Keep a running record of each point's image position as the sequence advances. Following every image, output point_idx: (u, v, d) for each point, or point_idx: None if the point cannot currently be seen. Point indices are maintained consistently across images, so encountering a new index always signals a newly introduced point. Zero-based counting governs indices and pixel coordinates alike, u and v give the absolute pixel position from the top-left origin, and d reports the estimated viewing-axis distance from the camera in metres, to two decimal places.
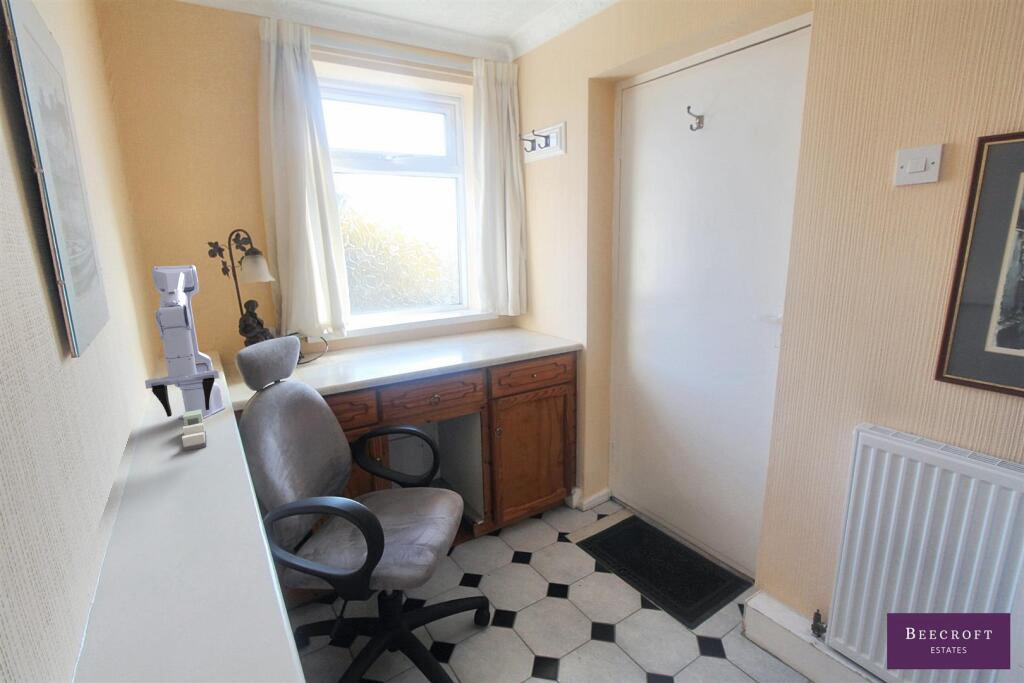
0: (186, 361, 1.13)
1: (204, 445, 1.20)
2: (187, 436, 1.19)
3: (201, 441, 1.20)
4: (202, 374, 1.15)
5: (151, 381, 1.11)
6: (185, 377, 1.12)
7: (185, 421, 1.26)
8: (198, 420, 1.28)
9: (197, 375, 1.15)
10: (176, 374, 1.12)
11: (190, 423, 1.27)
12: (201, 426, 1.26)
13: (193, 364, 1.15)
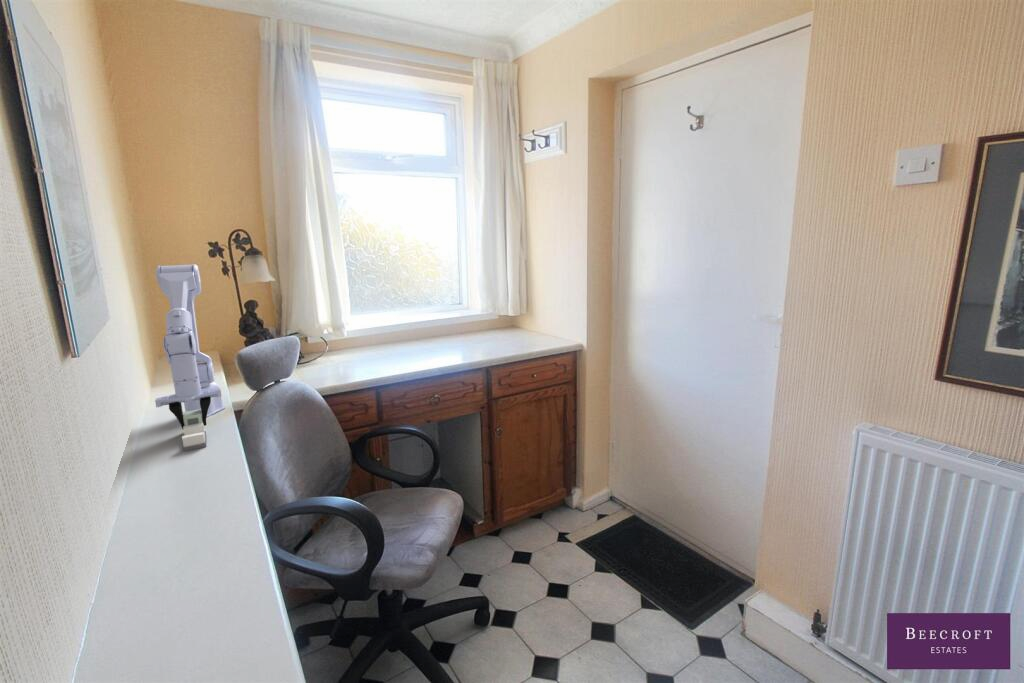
0: (192, 383, 1.25)
1: (204, 445, 1.20)
2: (187, 436, 1.19)
3: (201, 441, 1.20)
4: (206, 394, 1.28)
5: (161, 401, 1.24)
6: (192, 398, 1.25)
7: (185, 421, 1.26)
8: (198, 419, 1.28)
9: (202, 395, 1.27)
10: (183, 395, 1.25)
11: (190, 423, 1.27)
12: (201, 426, 1.26)
13: (198, 385, 1.27)
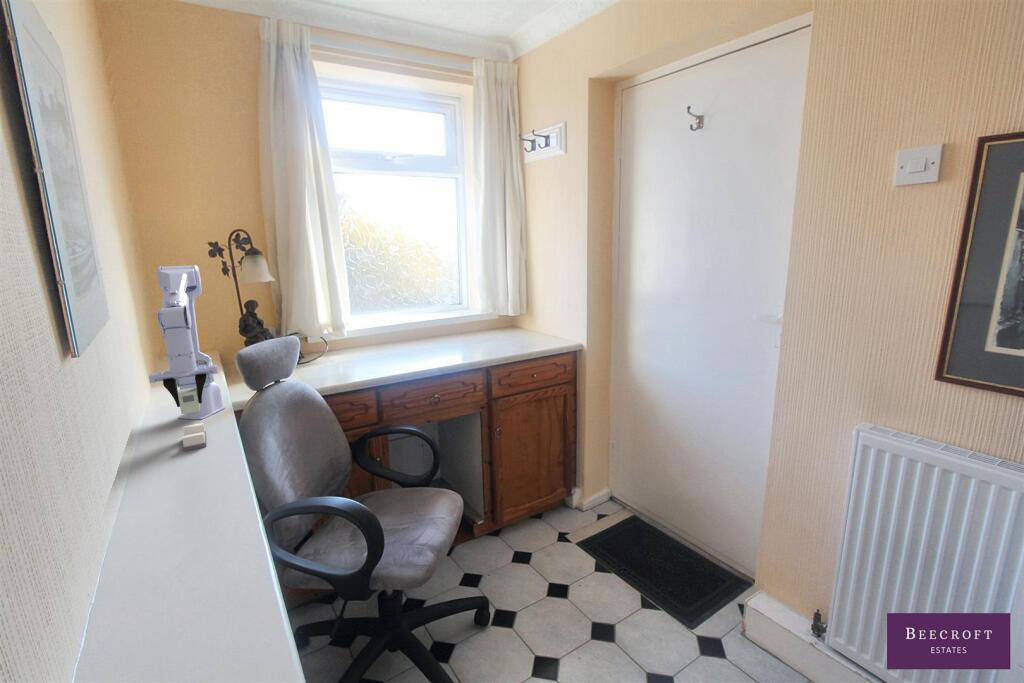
0: (187, 359, 1.22)
1: (204, 445, 1.20)
2: (187, 436, 1.19)
3: (201, 441, 1.20)
4: (202, 370, 1.24)
5: (154, 376, 1.20)
6: (186, 374, 1.21)
7: (180, 398, 1.23)
8: (193, 397, 1.24)
9: (197, 371, 1.24)
10: (178, 370, 1.21)
11: (185, 400, 1.23)
12: (201, 426, 1.26)
13: (193, 361, 1.23)
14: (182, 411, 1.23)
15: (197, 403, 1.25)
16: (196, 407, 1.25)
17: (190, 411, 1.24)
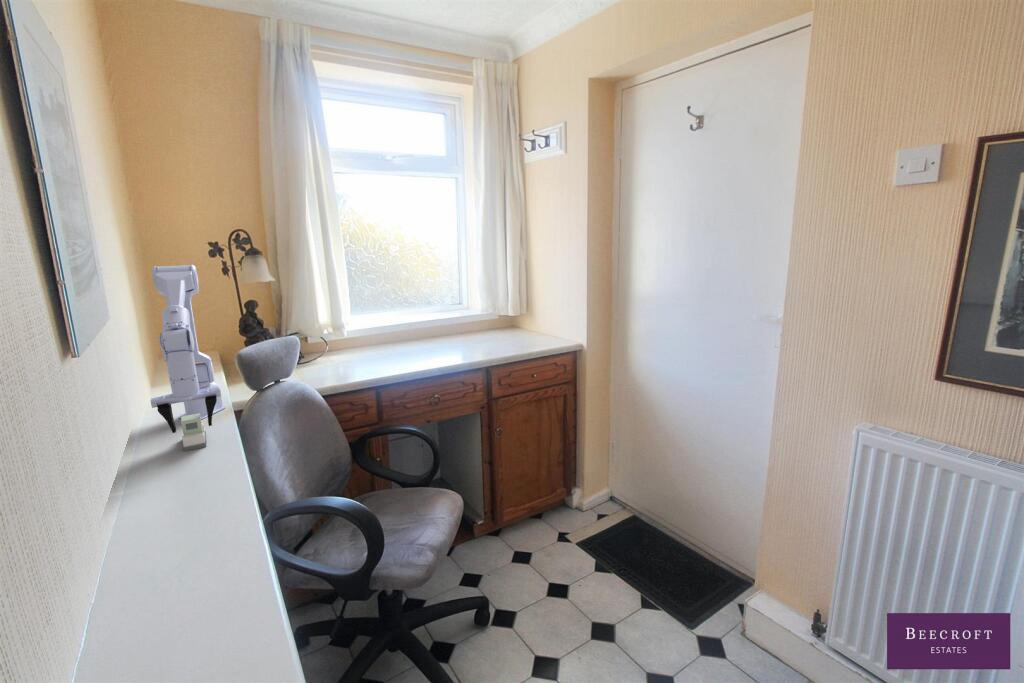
0: (190, 382, 1.18)
1: (204, 445, 1.20)
2: (187, 436, 1.19)
3: (201, 441, 1.20)
4: (205, 393, 1.21)
5: (156, 401, 1.16)
6: (189, 398, 1.18)
7: (183, 426, 1.20)
8: (197, 424, 1.21)
9: (200, 395, 1.20)
10: (180, 394, 1.17)
11: (189, 428, 1.20)
12: None
13: (196, 384, 1.20)
14: None
15: (201, 430, 1.22)
16: None
17: None
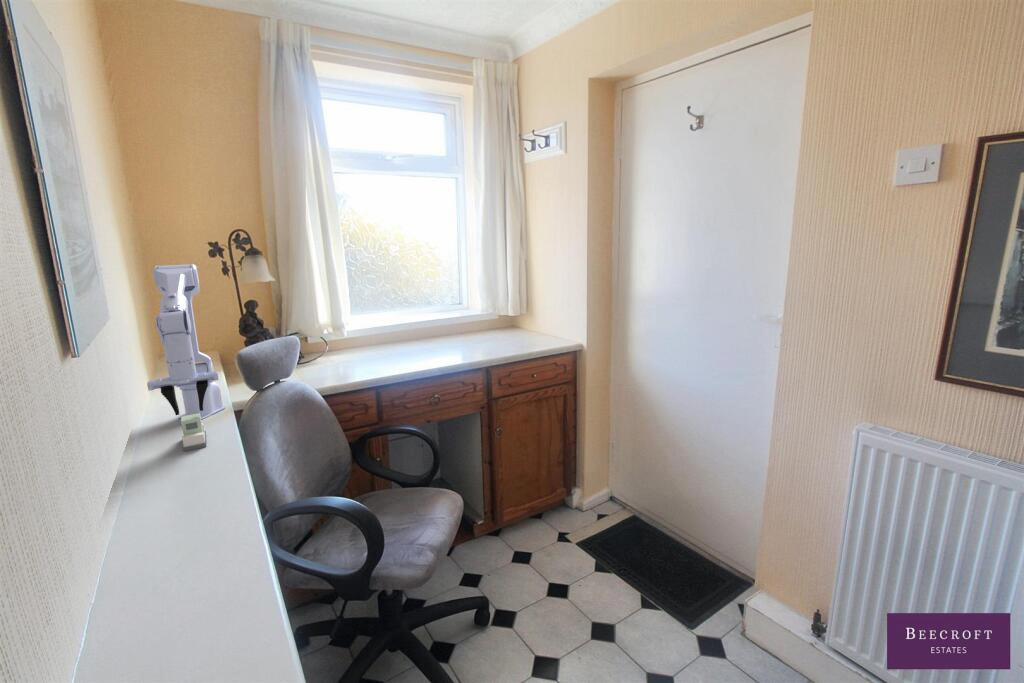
0: (187, 365, 1.17)
1: (204, 445, 1.20)
2: (187, 436, 1.19)
3: (201, 441, 1.20)
4: (202, 377, 1.20)
5: (153, 383, 1.15)
6: (186, 381, 1.17)
7: (183, 426, 1.20)
8: (197, 424, 1.21)
9: (197, 378, 1.19)
10: (177, 377, 1.16)
11: (189, 428, 1.20)
12: None
13: (193, 367, 1.19)
14: None
15: (201, 430, 1.22)
16: None
17: None
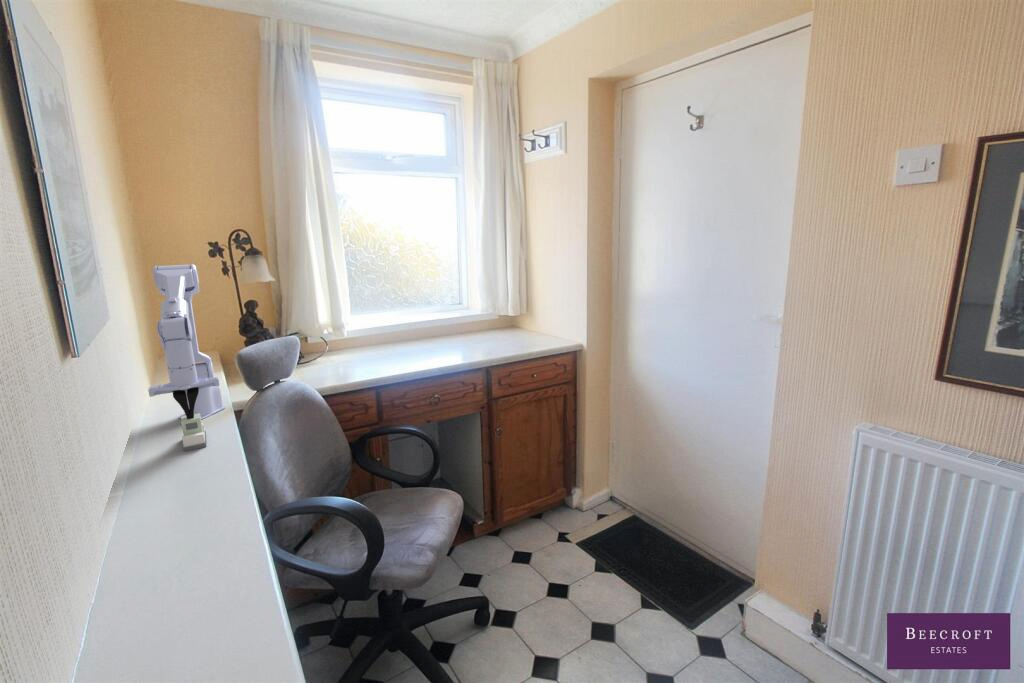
0: (188, 371, 1.18)
1: (204, 445, 1.20)
2: (187, 436, 1.19)
3: (201, 441, 1.20)
4: (203, 383, 1.20)
5: (154, 390, 1.16)
6: (187, 387, 1.17)
7: (183, 426, 1.20)
8: (197, 424, 1.21)
9: (198, 384, 1.20)
10: (178, 383, 1.17)
11: (189, 428, 1.20)
12: None
13: (194, 373, 1.19)
14: None
15: (201, 430, 1.22)
16: None
17: None
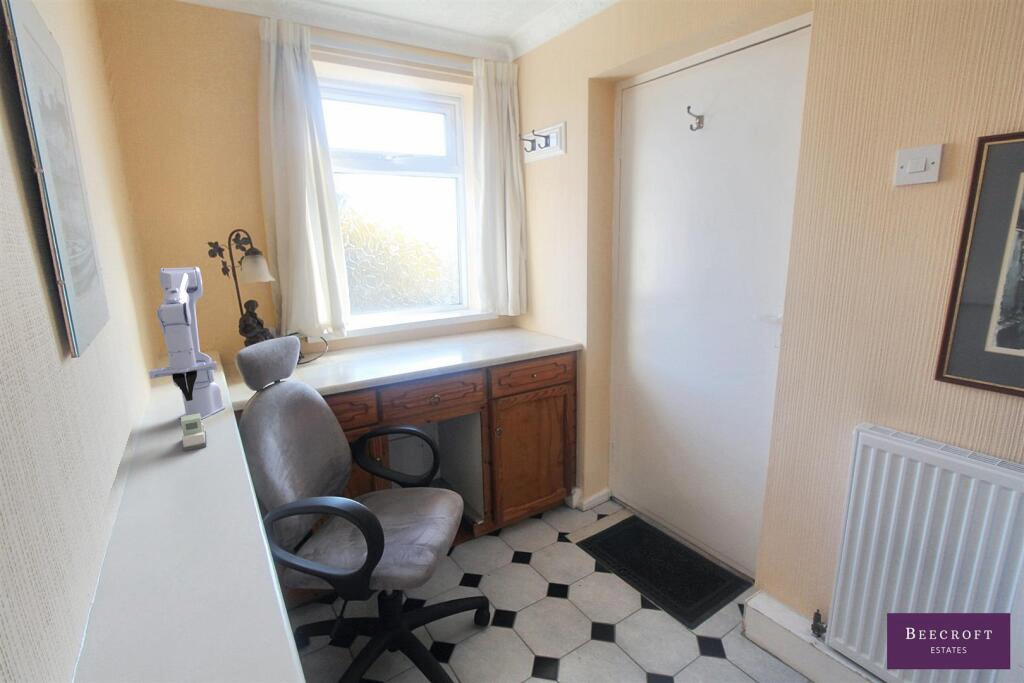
0: (187, 355, 1.23)
1: (204, 445, 1.20)
2: (187, 436, 1.19)
3: (201, 441, 1.20)
4: (201, 366, 1.26)
5: (155, 372, 1.21)
6: (186, 370, 1.22)
7: (183, 426, 1.20)
8: (197, 424, 1.21)
9: (197, 367, 1.25)
10: (177, 366, 1.22)
11: (189, 428, 1.20)
12: None
13: (193, 357, 1.25)
14: None
15: (201, 430, 1.22)
16: None
17: None
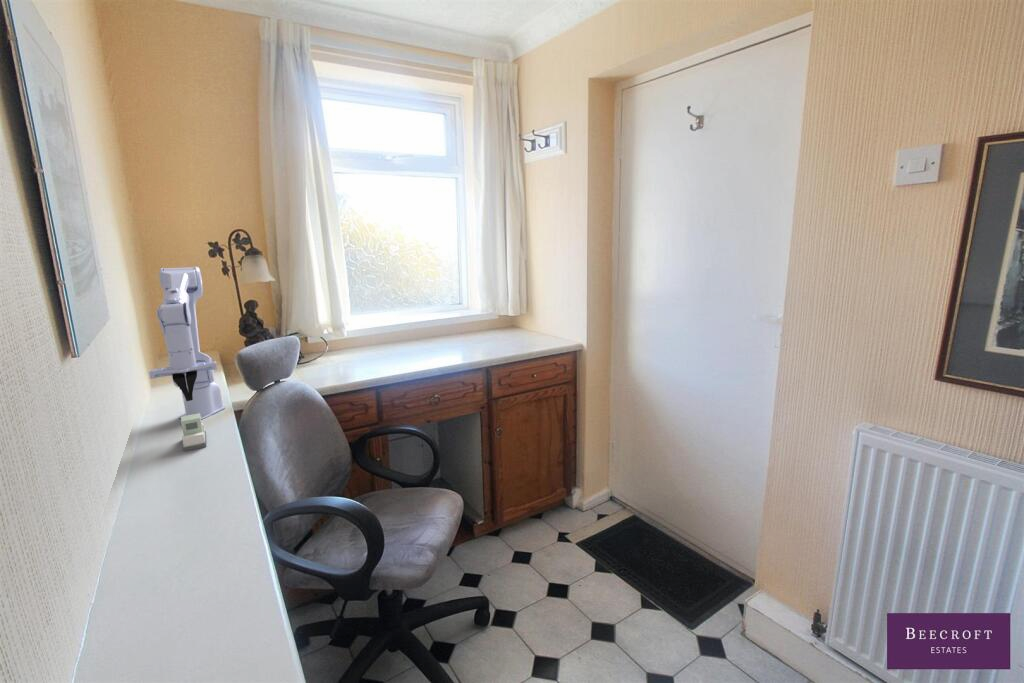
0: (187, 355, 1.23)
1: (204, 445, 1.20)
2: (187, 436, 1.19)
3: (201, 441, 1.20)
4: (201, 366, 1.26)
5: (155, 372, 1.21)
6: (186, 370, 1.22)
7: (183, 426, 1.20)
8: (197, 424, 1.21)
9: (197, 367, 1.25)
10: (177, 366, 1.22)
11: (189, 428, 1.20)
12: None
13: (193, 357, 1.25)
14: None
15: (201, 430, 1.22)
16: None
17: None
